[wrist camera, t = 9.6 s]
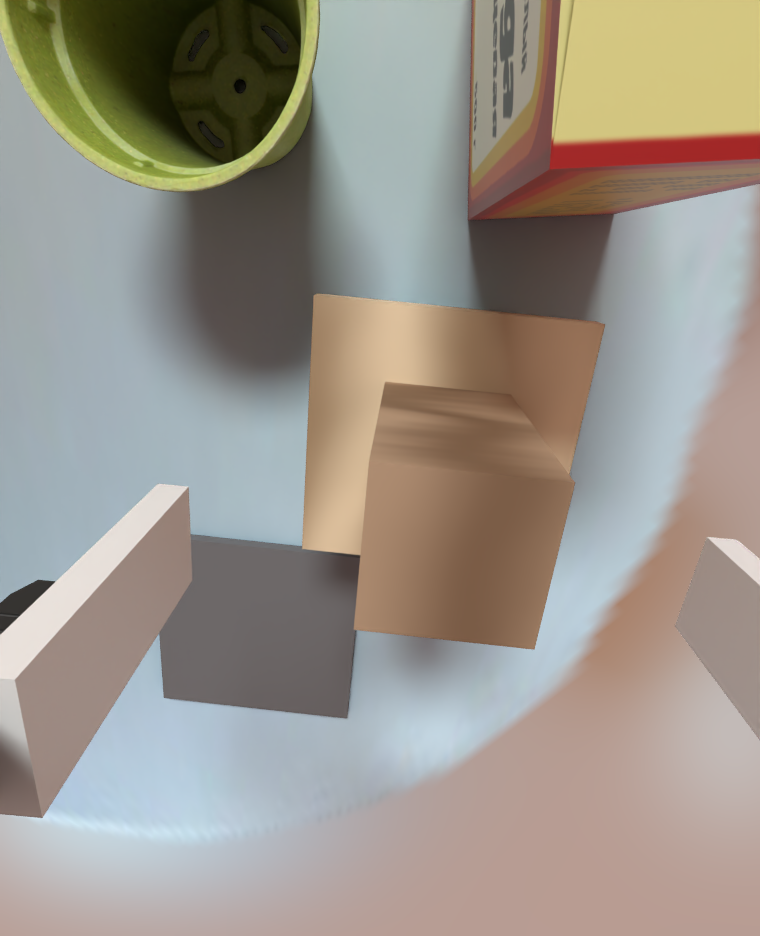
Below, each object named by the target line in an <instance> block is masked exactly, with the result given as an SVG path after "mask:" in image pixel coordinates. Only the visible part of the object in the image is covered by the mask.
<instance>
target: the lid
mask: <svg viewBox="0 0 760 936" xmlns="http://www.w3.org/2000/svg"><path fill="white" fill-rule="evenodd" d="M604 327H605V324H602V323H599V322H596V321H586V320H576V319H566V318H556V317H546V316H537V315H527V314H517V313H507V312H497V311H487V310H477V309H467V308H457V307H447V306H437V305H428V304H418V303H408V302H398V301H388V300H378V299H368V298H358V297H348V296H338V295H328V294H315V295H314V298H313V320H312V342H311V364H310V386H309V408H308V430H307V452H306V474H305V496H304V518H303V541H302V549H308V550H317V551H326V552H335V553H345V554H354V555H360V565H359V576H358V587H357V598H356V609H355V620H354V630H362V631H371V632H380V633H389V634H398V635H407V636H416V637H425V638H434V639H443V640H452V641H462V642H471V643H480V644H489V645H498V646H507V647H516V648H525V649H535V645H536V641H537V637H538V632H539V628H540V624H541V620H542V616H543V612H544V608H545V604H546V600H547V596H548V592H549V588H550V583H551V579H552V575H553V571H554V567H555V563H556V559H557V555H558V551H559V547H560V543H561V539H562V535H563V530H564V526H565V522H566V518H567V514H568V510H569V506H570V502H571V498H572V494H573V490H574V486H575V482H574V481H573V479H572V478H571V477H570V475H569V474H570V469H571V465H572V461H573V457H574V453H575V449H576V444H577V440H578V436H579V432H580V428H581V423H582V419H583V415H584V411H585V407H586V403H587V398H588V394H589V390H590V386H591V382H592V378H593V373H594V369H595V365H596V361H597V357H598V352H599V348H600V344H601V340H602V336H603V332H604Z"/></svg>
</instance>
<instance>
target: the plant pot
mask: <svg viewBox="0 0 760 936" xmlns="http://www.w3.org/2000/svg"><path fill="white" fill-rule="evenodd" d="M261 25H262V26H268V27H270V28H272V29H274V30H275V31H276V32H278V33H279V34H280V35H281V37H282V38H283V39H284V40H285V42H286V43H287V46H288V51H287V52H286V54H284V53H282V52H281V50H280V49H279V47H278V46H277V45H276V44H275V42H274V41H273V40H272V39H271V38H270V37H269V36H268V35H266V33H265V31H262V30H261ZM319 25H320V5H319V0H0V32H1V35H2V38H3V41H4V44H5V47H6V50H7V52H8V55H9V57H10V60H11V62H12V65H13V67H14V69H15V72H16V74H17V76H18V77H19V79H20V81H21V83H22V85H23V87H24V88H25V90H26V92H27V94H28V95H29V97H30V98H31V100H32V102H33V103H34V105H35V106H36V108H37V109H38V110H39V112H40V113H41V114H42V115H43V117H44V118H45V119H46V121H47V122H48V123H49V124H50V125H51V127H52V128H53V129H54V130H55V131H56V132H57V133H58V134H59V135H60V136H61V137H62V138H63V139H64V140H65V141H66V142H67V143H68V144H69V145H70V146H71V147H72V148H74V149H75V150H76V151H77V152H79V153H80V154H81V155H82V156H84V157H85V158H86V159H87V160H89V161H90V162H92V163H93V164H95V165H96V166H98V167H100V168H101V169H103V170H105V171H106V172H108V173H110V174H112V175H114V176H116V177H118V178H121V179H123V180H125V181H128V182H130V183H133V184H136V185H139V186H143V187H147V188H151V189H156V190H162V191H171V192H190V191H200V190H206V189H210V188H214V187H217V186H220V185H223V184H226V183H228V182H230V181H233V180H235V179H237V178H239V177H241V176H242V175H244V174H245V173H247V172H249V171H250V170H251V169H258V168H262V167H265V166H268V165H271V164H273V163H275V162H277V161H278V160H280V159H281V158H283V157H284V156H285V155H286V154H287V153H288V152H290V151H291V150H292V148H293V147H294V146H295V145H296V143H297V142H298V140H299V139H300V137H301V135H302V133H303V131H304V129H305V127H306V124H307V122H308V119H309V115H310V112H311V105H312V73H313V69H314V65H315V60H316V55H317V48H318V38H319ZM204 29H205V30H208V31H209V37H208V38H207V39H206V41H205V42H204V44H203V45H202V46H201V47H200V49H199V51H198V52H197V54H196V55H195V59H194V61H189V58H188V52H189V50H190V49H191V46H192V45H193V43H194V39H195V37H196V36H197V35H198V34H199V33H200V32H201V31H202V30H204ZM238 79H242V80H244V81H245V83H246V89H245V91H244V92H242V93H240V94H239V93H238V92H236V91H235V88H234V84H235V82H236V81H237V80H238ZM200 121H203V122H204V123H205V125H206V126H207V127H208V128H209V129H210V131H211V132H212V133H213V134H214V135H215V136H217V137H218V138H219V139H221V140H222V141H223V142H224V147H222V148H219V147H215V146H214V145H213V144H211V142H210V141H209V140H208V139H207V138H206V137H205V136H204V135H203V134H202V132H201V131H200V129H199V125H198V123H199V122H200Z"/></svg>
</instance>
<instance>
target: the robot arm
mask: <svg viewBox="0 0 760 936" xmlns="http://www.w3.org/2000/svg"><path fill="white" fill-rule="evenodd" d="M191 581H192V559H191V535H190V511H189V487H186V486H176V485H165V484H157V485H156V486H155V487H154V488H153V489H152V490H151V491H150V492H149V493H148V494H147V495H146V496H145V497H144V498H143V499H142V500H141V501H140V502H139V503H137V504H136V505H135V506H134V507H133V508H132V509H131V510H130V511H129V512H128V513H127V514H126V515H125V516H124V517H123V518H122V519H121V520H120V521H119V522H118V523H117V524H116V525H115V526H113V527H112V528H111V529H110V530H109V531H108V532H107V533H106V534H105V535H104V536H103V537H102V538H101V539H100V540H99V541H98V542H97V543H96V544H95V545H94V546H93V547H92V548H90V549H89V550H88V551H87V552H86V553H85V554H84V555H83V556H82V557H81V558H80V559H79V560H78V561H77V562H76V563H75V564H74V565H73V566H72V567H71V568H70V569H69V570H67V571H66V572H65V573H64V574H63V575H62V576H61V577H60V578H59V579H58V580H57V581H56V582H55V581H45V580H37V581H35V582H33V583H31V584H29V585H27V586H25V587H23V588H22V589H20V590H18V591H16V592H14V593H12V594H10V595H9V596H8V597H7V598H6V599H4V600H3V601H2V602H1V603H0V814H5V815H16V816H27V817H38V818H43V816H44V814H45V813H46V811H47V810H48V808H49V807H50V805H51V803H52V802H53V800H54V799H55V797H56V795H57V794H58V792H59V791H60V789H61V787H62V786H63V784H64V783H65V781H66V780H67V778H68V776H69V775H70V773H71V772H72V770H73V768H74V767H75V765H76V764H77V762H78V761H79V759H80V757H81V756H82V754H83V753H84V751H85V749H86V748H87V746H88V745H89V743H90V742H91V740H92V738H93V737H94V735H95V734H96V732H97V730H98V729H99V727H100V726H101V724H102V722H103V721H104V719H105V718H106V716H107V715H108V713H109V711H110V710H111V708H112V707H113V705H114V703H115V702H116V700H117V699H118V697H119V696H120V694H121V692H122V691H123V689H124V688H125V686H126V684H127V683H128V681H129V680H130V678H131V677H132V675H133V673H134V672H135V670H136V669H137V667H138V665H139V664H140V662H141V661H142V659H143V657H144V656H145V654H146V653H147V651H148V650H149V648H150V646H151V645H152V643H153V642H154V640H155V638H156V637H157V635H158V634H159V632H160V631H161V629H162V627H163V626H164V624H165V623H166V621H167V619H168V618H169V616H170V615H171V613H172V611H173V610H174V608H175V607H176V605H177V604H178V602H179V600H180V599H181V597H182V596H183V594H184V592H185V591H186V589H187V588H188V586H189V585H190V583H191ZM675 627H676V628H677V630H678V631H679V632H680V634H681V635H682V636H683V638H684V639H685V640H686V642H687V643H688V644H689V646H690V647H691V648H692V650H693V651H694V652H695V654H696V655H697V657H698V658H699V659H700V660H701V662H702V663H703V664H704V666H705V667H706V669H707V670H708V671H709V673H710V674H711V675H712V677H713V678H714V679H715V681H716V682H717V683H718V685H719V686H720V687H721V689H722V690H723V691H724V693H725V694H726V695H727V697H728V698H729V699H730V701H731V702H732V703H733V705H734V706H735V707H736V709H737V710H738V711H739V713H740V714H741V716H742V717H743V718H744V720H745V721H746V722H747V724H748V725H749V726H750V728H751V729H752V730H753V732H754V733H755V734H756V736H757V737H758V738H759V740H760V559H759V558H758V557H756V556H755V555H754V554H753V553H752V552H751V551H750V550H748V549H747V548H746V547H745V546H744V545H742V544H741V543H740V542H739V541H738V540H732V539H722V538H712V537H707V538H706V541H705V544H704V547H703V549H702V552H701V555H700V558H699V561H698V563H697V566H696V569H695V572H694V575H693V578H692V580H691V583H690V586H689V589H688V592H687V594H686V597H685V600H684V603H683V605H682V608H681V611H680V614H679V617H678V619H677V622H676V625H675Z"/></svg>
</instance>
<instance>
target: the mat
mask: <svg viewBox="0 0 760 936" xmlns="http://www.w3.org/2000/svg"><path fill="white" fill-rule="evenodd" d="M190 535H191V534H190ZM191 559H192V581H191V583H190V585H189V586H188V588H187V589H186V591H185V592H184V594H183V596H182V597H181V599H180V600H179V602H178V604H177V605H176V607H175V608H174V610H173V611H172V613H171V615H170V616H169V618H168V619H167V621H166V623H165V624H164V626H163V627H162V629H161V631H160V632H159V635H160V649H161V663H162V677H163V692H164V698H170V699H179V700H188V701H197V702H206V703H215V704H224V705H233V706H242V707H251V708H259V709H268V710H277V711H286V712H295V713H304V714H313V715H322V716H331V717H340V718H347V714H348V704H349V693H350V683H351V672H352V661H353V650H354V639H355V630H354V620H355V609H356V598H357V587H358V576H359V565H360V555H354V554H345V553H335V552H326V551H317V550H308V549H302V546H293V545H284V544H275V543H265V542H256V541H247V540H238V539H228V538H219V537H210V536H201V535H191Z"/></svg>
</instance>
